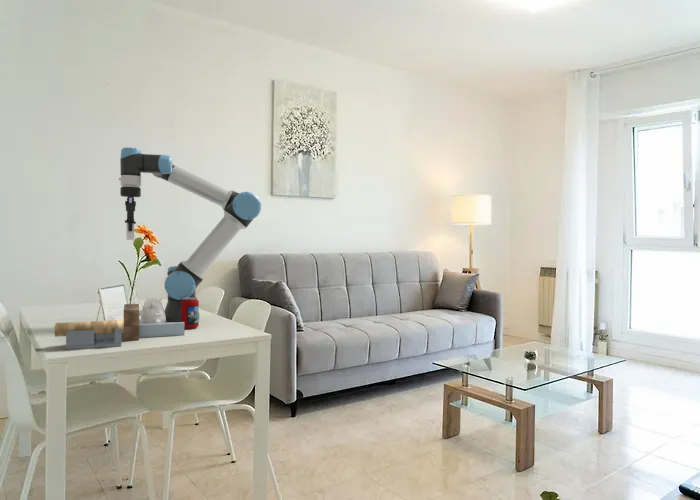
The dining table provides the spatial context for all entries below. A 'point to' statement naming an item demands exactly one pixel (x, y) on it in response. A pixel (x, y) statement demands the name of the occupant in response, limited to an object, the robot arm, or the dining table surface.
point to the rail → (153, 330)
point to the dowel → (89, 327)
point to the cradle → (90, 339)
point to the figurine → (152, 312)
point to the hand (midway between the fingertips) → (130, 239)
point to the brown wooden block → (131, 322)
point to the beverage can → (190, 312)
